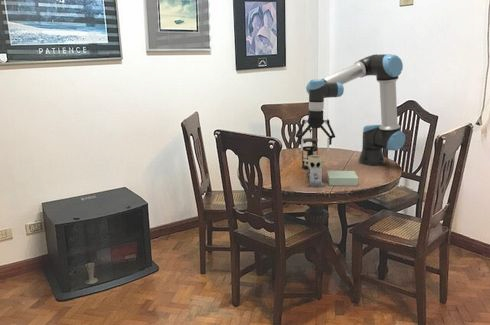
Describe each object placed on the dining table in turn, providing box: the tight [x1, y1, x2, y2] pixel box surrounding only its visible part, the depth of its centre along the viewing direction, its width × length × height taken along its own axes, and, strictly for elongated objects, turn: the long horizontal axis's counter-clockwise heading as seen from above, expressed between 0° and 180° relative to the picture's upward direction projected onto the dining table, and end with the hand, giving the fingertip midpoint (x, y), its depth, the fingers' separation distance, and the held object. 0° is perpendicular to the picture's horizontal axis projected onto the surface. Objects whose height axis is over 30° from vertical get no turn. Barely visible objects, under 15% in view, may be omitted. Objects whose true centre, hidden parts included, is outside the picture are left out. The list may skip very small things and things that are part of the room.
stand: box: [326, 170, 359, 187], centre depth 236 cm, size 15×15×4 cm
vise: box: [305, 166, 325, 188], centre depth 238 cm, size 8×25×9 cm, turn 175°
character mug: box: [304, 154, 326, 181], centre depth 238 cm, size 11×7×13 cm, turn 86°
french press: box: [301, 128, 319, 170], centre depth 264 cm, size 12×9×23 cm
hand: (314, 150), depth 236 cm, fingers open, 13 cm apart
